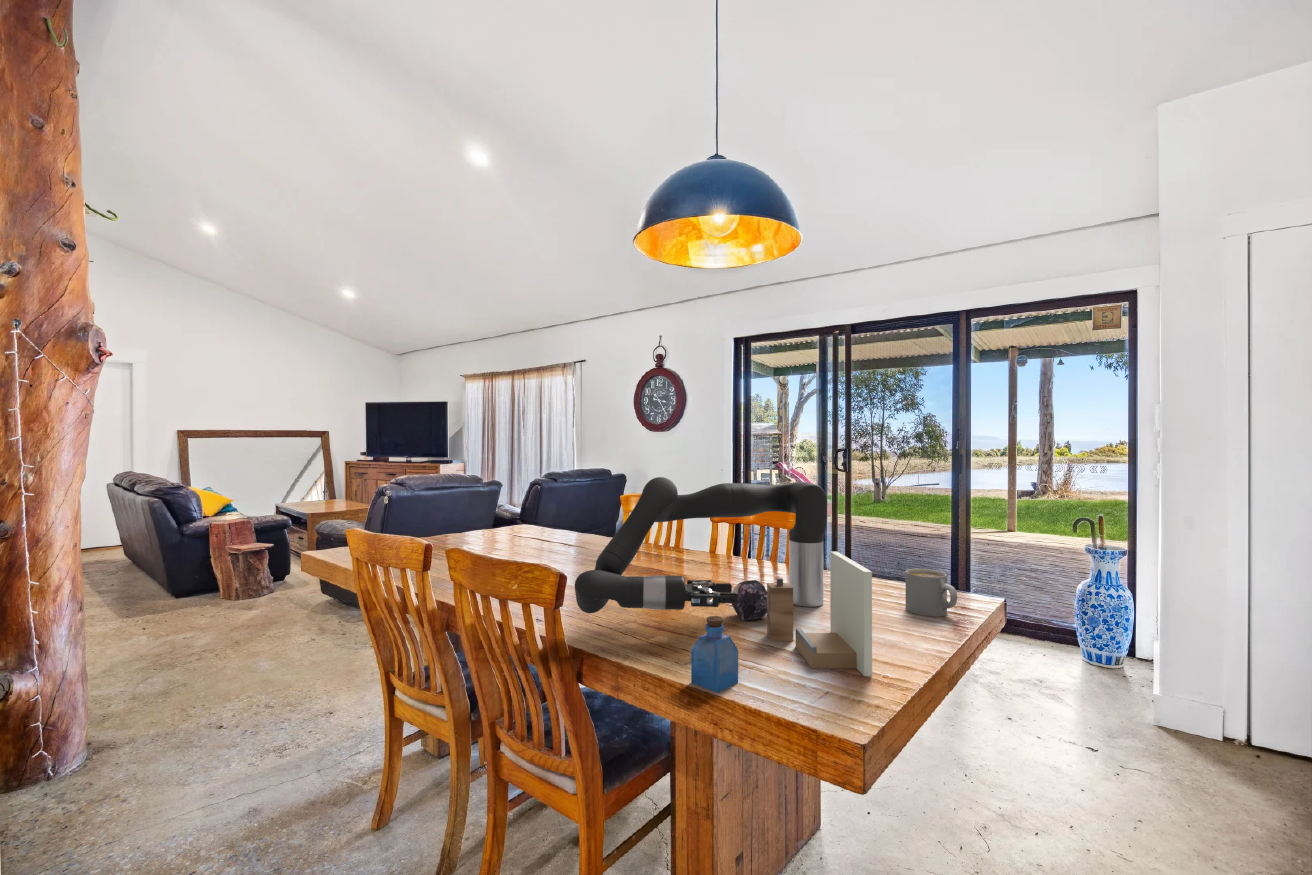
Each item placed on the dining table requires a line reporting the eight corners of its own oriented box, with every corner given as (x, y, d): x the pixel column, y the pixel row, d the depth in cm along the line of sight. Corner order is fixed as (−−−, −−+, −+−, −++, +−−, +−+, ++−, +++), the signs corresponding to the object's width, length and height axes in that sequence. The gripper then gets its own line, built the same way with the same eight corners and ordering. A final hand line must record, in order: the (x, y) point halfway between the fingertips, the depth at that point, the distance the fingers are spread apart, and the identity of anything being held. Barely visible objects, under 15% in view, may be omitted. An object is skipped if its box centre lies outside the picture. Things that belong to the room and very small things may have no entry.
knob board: (767, 634, 136) (766, 576, 136) (788, 634, 136) (788, 576, 136) (771, 641, 131) (771, 581, 131) (793, 640, 131) (793, 580, 131)
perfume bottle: (712, 673, 113) (712, 611, 114) (738, 682, 109) (738, 618, 109) (691, 682, 109) (691, 618, 109) (717, 692, 105) (716, 626, 105)
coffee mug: (897, 607, 158) (897, 570, 158) (927, 603, 161) (927, 567, 161) (934, 622, 145) (934, 581, 145) (966, 618, 148) (966, 578, 148)
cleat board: (790, 640, 132) (790, 551, 132) (837, 639, 132) (836, 551, 132) (817, 676, 112) (817, 572, 112) (872, 676, 112) (871, 571, 112)
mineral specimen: (731, 602, 156) (746, 569, 154) (766, 623, 151) (782, 589, 150) (718, 610, 147) (733, 575, 146) (755, 633, 143) (771, 597, 141)
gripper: (664, 583, 126) (739, 584, 126) (662, 569, 140) (729, 569, 140) (664, 618, 126) (739, 618, 126) (662, 600, 140) (729, 600, 140)
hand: (734, 593), depth 133 cm, fingers open, 8 cm apart
